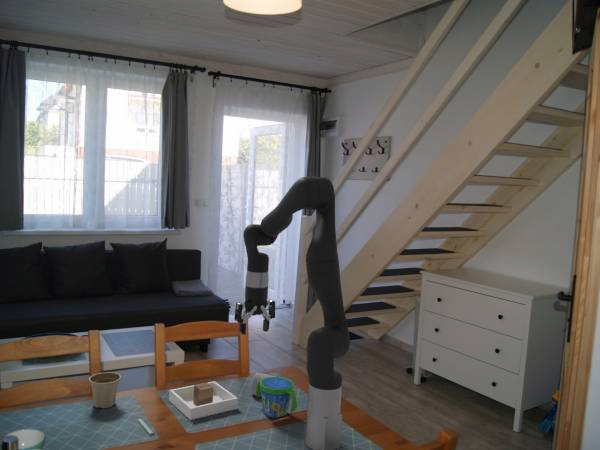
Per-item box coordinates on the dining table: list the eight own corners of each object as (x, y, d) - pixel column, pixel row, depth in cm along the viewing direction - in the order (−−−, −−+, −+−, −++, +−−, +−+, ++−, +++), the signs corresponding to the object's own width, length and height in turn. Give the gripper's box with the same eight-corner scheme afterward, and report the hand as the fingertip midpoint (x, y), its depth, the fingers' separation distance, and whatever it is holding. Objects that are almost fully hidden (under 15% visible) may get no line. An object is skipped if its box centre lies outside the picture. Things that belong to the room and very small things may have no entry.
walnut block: (212, 405, 164) (213, 387, 163) (199, 408, 161) (200, 389, 160) (206, 400, 167) (206, 382, 167) (193, 403, 164) (194, 385, 164)
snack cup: (304, 418, 159) (306, 386, 159) (278, 428, 152) (280, 394, 151) (271, 401, 171) (273, 371, 170) (246, 409, 163) (248, 378, 163)
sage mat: (183, 426, 149) (183, 425, 149) (149, 435, 144) (149, 433, 143) (169, 413, 157) (169, 412, 157) (137, 421, 152) (137, 419, 151)
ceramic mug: (273, 402, 170) (275, 379, 170) (250, 399, 172) (251, 376, 171) (280, 390, 181) (282, 369, 180) (258, 387, 182) (259, 366, 182)
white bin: (237, 410, 162) (237, 398, 162) (190, 421, 153) (190, 408, 153) (213, 392, 175) (214, 381, 175) (169, 402, 166) (169, 390, 165)
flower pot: (81, 405, 159) (82, 378, 159) (105, 395, 168) (106, 370, 167) (102, 413, 155) (103, 385, 154) (126, 402, 163) (127, 376, 163)
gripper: (243, 288, 163) (240, 338, 164) (281, 285, 171) (278, 333, 173) (232, 283, 169) (230, 332, 170) (269, 281, 177) (266, 327, 179)
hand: (254, 332), depth 172 cm, fingers open, 8 cm apart
